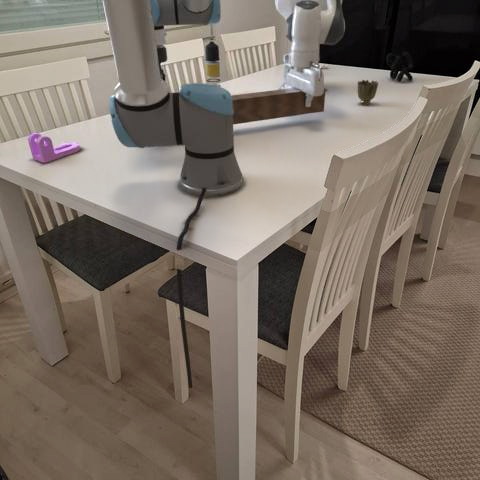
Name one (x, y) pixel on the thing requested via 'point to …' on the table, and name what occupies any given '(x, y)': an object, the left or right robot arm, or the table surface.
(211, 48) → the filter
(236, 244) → the table surface
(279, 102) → the post
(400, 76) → the squiggle
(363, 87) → the cup
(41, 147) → the bracket
